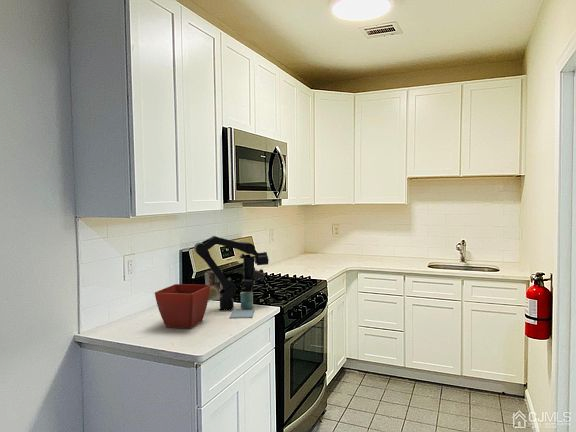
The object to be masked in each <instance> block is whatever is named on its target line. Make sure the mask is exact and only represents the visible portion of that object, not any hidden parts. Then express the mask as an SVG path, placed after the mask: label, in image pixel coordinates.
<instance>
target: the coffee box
mask: <svg viewBox="0 0 576 432" xmlns="http://www.w3.org/2000/svg"><path fill="white" fill-rule="evenodd" d="M220 270H221V269H220ZM221 271H222V273H223V270H221ZM223 274H224V273H223ZM204 281H205V284H204V285H210V292H209V298H208V301H220V297H221V296H220V294H219V292H220V291H221V290H222V286H221V284H220V281H219V280H218V278H217V277H216V276H215V274H214V273H213V271H212V270H207V271H205V272H204Z"/></svg>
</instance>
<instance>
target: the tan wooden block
mask: <svg viewBox="0 0 576 432" xmlns="http://www.w3.org/2000/svg"><path fill="white" fill-rule="evenodd" d="M253 294H254V293H253V291H251V292H247V291H241V292H240V294H239V295H240V310H254V299H253V298H254V296H253Z"/></svg>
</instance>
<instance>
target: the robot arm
mask: <svg viewBox="0 0 576 432" xmlns="http://www.w3.org/2000/svg"><path fill="white" fill-rule="evenodd" d="M215 245H217V246H218V245H219V246H223V247H226V248H231V249H236V250H239V251H241V252H243V253H241V255H239V258H240V259H242V261H243V269H242V270H243V278H242V281H241V285H242V286H243V287H244V288H245V290H246V292H253V291H252V289H253V287H254V285H255V283H256V280H257V279H259V280H261V281H264V278H265V276H266V273H265V271H264V269H263V268H262V269H259V270H256V267H255V264H256V266H267V265H269V262H270V261H269V260H270V259H269V256H268V252H266V251H263V252H258V251H257V250H256V246H255V245H254V243H251V242H248V241H247V242H246V241H236V240H232V239H227V238H224V237H223V238H222V237H218V236H216V235H212V236H211V237H210V238H207V239H205V240H203V241H202V242H196V243H195V244H194V246H193V251H194V252H195V253H196V254H197V255H198V256H199V257H200V259H202V260H203V261H204V262H205V263H206V265H207V266H208V267H209V269H210V271H213V273H214V274H215V276H216V277H217V278H218V280H219V281H220V284H221V286H222V290H221V291H220V292H219V294H220V296H221V297H220V300H219V311H220V312H221V311H233V310H234V308H235V307H234V306H235V303H234V302H235V301H234V298H233V296H234V295H235V294H236V292H237V287H236V286H237V285H236V284H235V283H234V281H233V279H232V278H231V277H228V278H227V276H225V274H224V273H222V271H223V270H222V271H221V269H220V267H219V266H218V265H217V263H216V262H215V260H214V258H212V256H211V254H210V251H209V250H210V249H211V248H213V247H214V246H215Z"/></svg>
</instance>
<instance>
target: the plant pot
mask: <svg viewBox="0 0 576 432" xmlns="http://www.w3.org/2000/svg"><path fill="white" fill-rule="evenodd" d="M209 292H210V285H205V284H191V283H190V284H188V283H186V284H185V283H180V284H179V283H175V284H172V285H170V286H167V287H165V288H163V289H160V290H157V291H155V292H154V297H155V302H156V305H157V308H158V312H159V314H160V317H161V319H162V321H163V324H164V326H165V328H175V329H176V328H177V329H192V328H194V327H196V326H197V325H198V324H200V323H201V322H203V320H204V317H205V314H206V311H207V305H208V302H209V300H208V298H209Z"/></svg>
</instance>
